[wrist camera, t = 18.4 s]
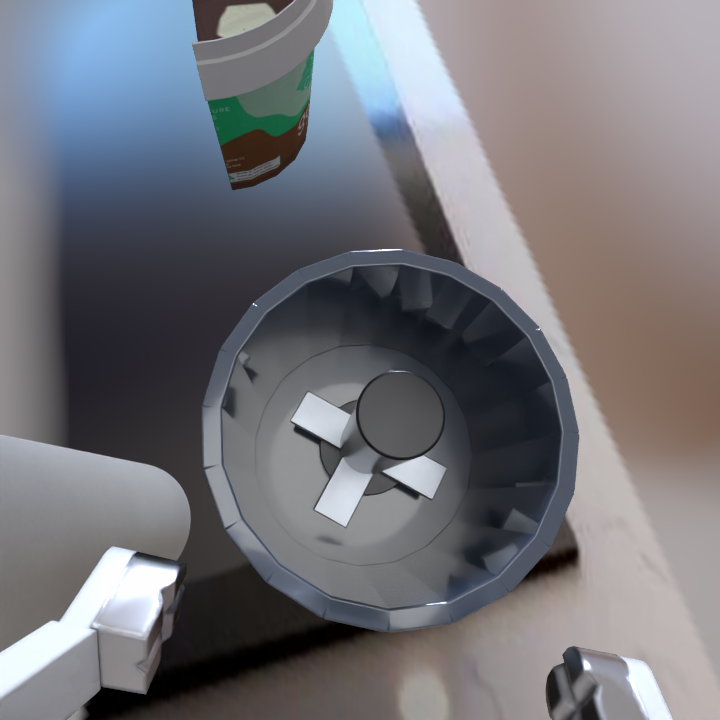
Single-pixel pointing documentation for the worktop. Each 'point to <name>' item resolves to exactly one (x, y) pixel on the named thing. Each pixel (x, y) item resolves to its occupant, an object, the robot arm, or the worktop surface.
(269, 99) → the food container
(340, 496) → the blade unit
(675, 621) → the worktop surface
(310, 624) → the worktop surface
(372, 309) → the processor bowl
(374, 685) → the worktop surface
